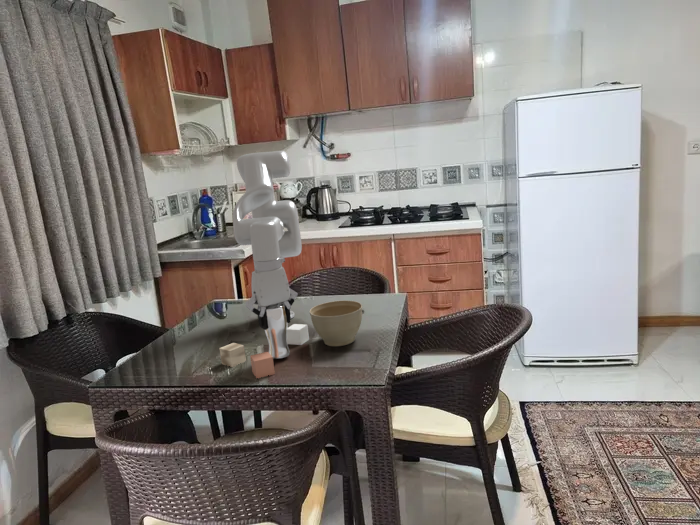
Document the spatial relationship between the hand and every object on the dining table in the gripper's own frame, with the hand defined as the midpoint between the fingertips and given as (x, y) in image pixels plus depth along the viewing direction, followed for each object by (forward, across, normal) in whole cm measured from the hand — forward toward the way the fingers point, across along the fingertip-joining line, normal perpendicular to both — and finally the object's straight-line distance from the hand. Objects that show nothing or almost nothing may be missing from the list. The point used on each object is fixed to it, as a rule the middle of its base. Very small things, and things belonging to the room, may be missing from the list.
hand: (275, 324), depth 151 cm
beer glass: (+9, 0, 0) cm, 9 cm away
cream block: (+11, -11, -8) cm, 17 cm away
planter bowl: (+11, -20, +2) cm, 22 cm away
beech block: (+10, +11, -7) cm, 17 cm away
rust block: (+10, +8, +7) cm, 15 cm away
